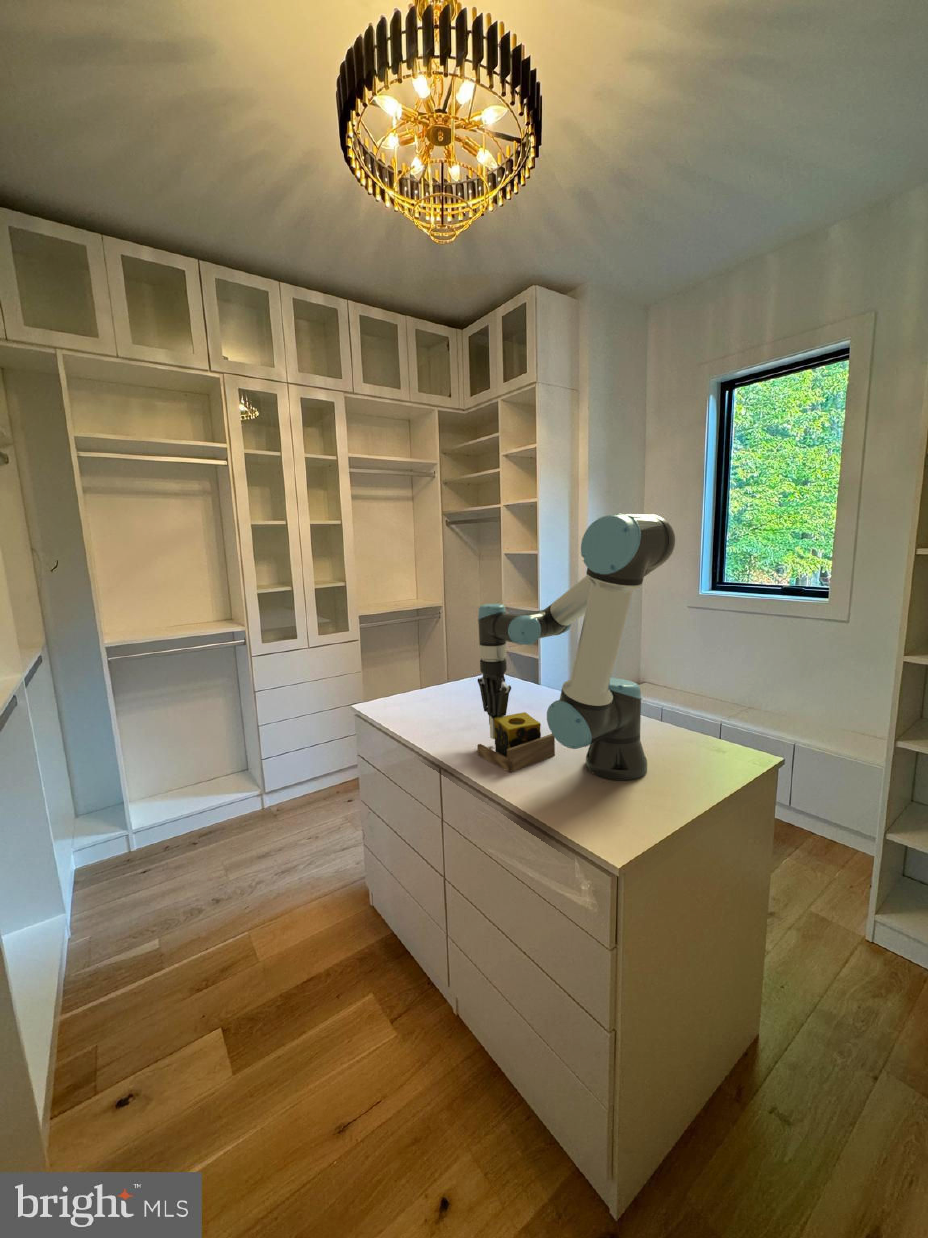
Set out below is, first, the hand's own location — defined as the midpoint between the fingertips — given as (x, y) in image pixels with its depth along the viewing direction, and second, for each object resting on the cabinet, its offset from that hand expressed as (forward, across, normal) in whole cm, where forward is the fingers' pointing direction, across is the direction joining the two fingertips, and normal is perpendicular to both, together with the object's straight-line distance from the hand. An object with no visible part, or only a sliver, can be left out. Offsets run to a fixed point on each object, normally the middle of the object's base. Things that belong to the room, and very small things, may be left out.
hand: (495, 737), depth 145 cm
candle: (+3, -9, -1) cm, 9 cm away
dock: (+2, -9, 0) cm, 9 cm away
